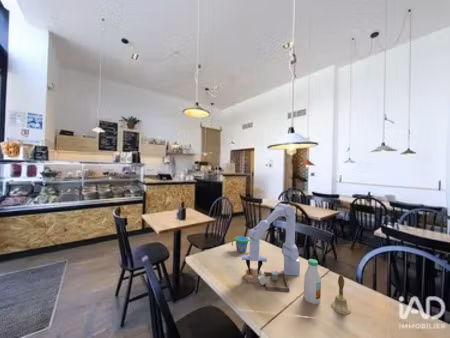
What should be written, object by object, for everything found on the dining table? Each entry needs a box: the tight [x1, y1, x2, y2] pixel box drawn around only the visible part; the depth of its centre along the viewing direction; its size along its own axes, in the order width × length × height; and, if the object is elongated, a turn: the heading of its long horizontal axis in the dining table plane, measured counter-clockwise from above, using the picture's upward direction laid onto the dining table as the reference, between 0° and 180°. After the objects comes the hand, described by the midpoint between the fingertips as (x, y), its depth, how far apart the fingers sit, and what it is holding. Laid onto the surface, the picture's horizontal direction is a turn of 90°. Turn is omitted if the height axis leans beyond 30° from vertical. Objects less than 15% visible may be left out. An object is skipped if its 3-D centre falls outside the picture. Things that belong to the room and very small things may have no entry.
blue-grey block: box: [271, 270, 279, 280], centre depth 119 cm, size 3×4×3 cm
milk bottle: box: [303, 258, 322, 305], centre depth 101 cm, size 8×8×20 cm
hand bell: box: [330, 274, 352, 315], centre depth 96 cm, size 8×8×16 cm
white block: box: [258, 273, 267, 286], centre depth 113 cm, size 3×4×3 cm
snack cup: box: [231, 235, 250, 254], centre depth 158 cm, size 16×10×10 cm
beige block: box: [252, 267, 261, 276], centre depth 121 cm, size 3×4×3 cm
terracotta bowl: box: [244, 267, 264, 284], centre depth 120 cm, size 10×10×4 cm
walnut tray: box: [263, 271, 290, 292], centre depth 115 cm, size 12×16×2 cm
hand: (253, 272), depth 118 cm, fingers open, 4 cm apart
